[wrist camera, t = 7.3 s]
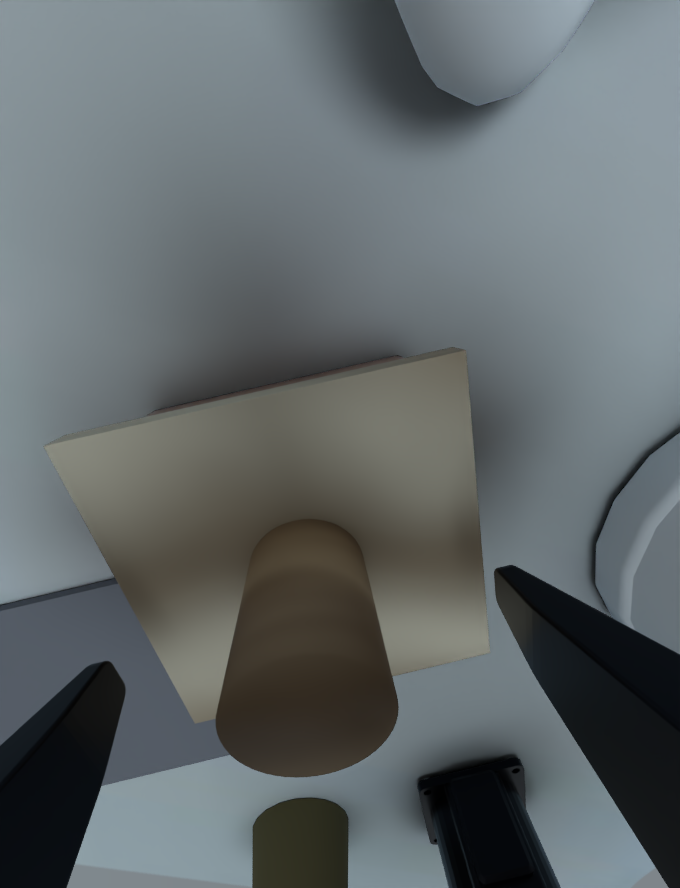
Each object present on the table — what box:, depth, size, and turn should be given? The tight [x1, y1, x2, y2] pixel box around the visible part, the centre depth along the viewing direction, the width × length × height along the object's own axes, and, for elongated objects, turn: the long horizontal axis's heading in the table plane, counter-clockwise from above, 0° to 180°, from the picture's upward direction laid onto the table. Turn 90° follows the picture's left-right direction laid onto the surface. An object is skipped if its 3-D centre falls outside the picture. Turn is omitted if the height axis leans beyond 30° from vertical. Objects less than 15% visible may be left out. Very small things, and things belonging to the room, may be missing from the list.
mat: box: [0, 579, 230, 786], centre depth 17 cm, size 12×12×1 cm
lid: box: [43, 347, 490, 777], centre depth 9 cm, size 10×10×5 cm
